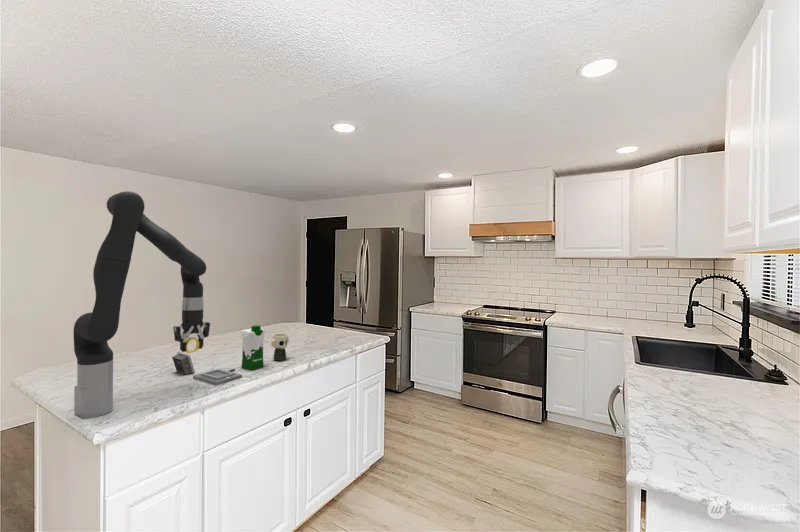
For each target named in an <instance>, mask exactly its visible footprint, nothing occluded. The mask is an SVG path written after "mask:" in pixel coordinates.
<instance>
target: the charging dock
mask: <svg viewBox="0 0 800 532" xmlns="http://www.w3.org/2000/svg"><path fill="white" fill-rule="evenodd" d="M235 370H236V368H232V369H229V370H226V369H222V368H216V369H212V370H209V371H208V370H207V371H205V372H201V373H198V374H194V375H192V378H193V379H194V380H196V381H200V382H203V383H207V384H210V385H214V386H219V385H222V384H223V385H224V384H225V383H229V382H233V381H235V380H238V379H242V378H243V374H241V373H237V372H235Z"/></svg>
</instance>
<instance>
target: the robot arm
mask: <svg viewBox="0 0 800 532" xmlns="http://www.w3.org/2000/svg"><path fill="white" fill-rule="evenodd" d="M106 208H107V211H108V213H109V214H111V215H112V219H111V224H110V228H109V231H108V233H107V234H106V236H105V238H104V240H103V241H102V243H101V246H100V247H99V249H98V252H97V255H96V258H95V263H94V266H93V272H92V276H93V283H94V284H93V285H94V289H95V290H94V291H95V301H94V306H93V309H92V312H87V313H83V314H81V315H80V316H79V317H78V318H77V319H76V321H75V323H74V325H73V352H74V355H75V357H76V361H77V362H76V363H77V367H76V369H77V370H76V371H77V372H76V378H77V380H76V381H77V383H76V385H75V386H73V387H74V388H73V389H74V390H73V391H74V394H73V395H74V399H73V400H74V401H73V404H74V411H73V412H74V414H73V415H74V416H76V417H77V418H79V419H81V420H85V419H89V418H97V417H100V416H104V415H107V414H108V413H110V412H112V411H113V409H114V352H113V350H112V349H111V347H110V346H109V343H108V341H110V340H111V339H112V338H113V337H114V336H115V335H116V333H117V332H118V328H119V324H120V316H121V315H120V314H121V306H122V305H121V303H122V299H123V294H124V290H125V286H126V281H127V277H128V273H129V269H130V265H131V262H132V255H133V250H134V246H135V240H136V235H137V233H138V234H140V235H141V236H142V237H144V238H145V239H146V240H147V241H149V242H150V243H151V244H152V246H155V247H156V248H157V249H158V250H159V251H160V252H161V253H162V254H163V255H165V256H166V257H167V258H168V259H169V260H171V261H172V262H175V263H177V264H178V265H179V266H180V275H181V282H182V285H183V288H182V302H181V325H177V326H176V325H174V326H173V328H172V329H173V336H174V337H173V338H174V341H175V342H179V350H180V352H183V353H187V352H186V341H187V340H188V338H189V337H190V336H191V335H193V334H195V335H196V338H197V339H198V341H199V348H198V350H199V349H203V347H204V339H205V338H208V337H209V335H210V327H211V322H208V321H205V322H204V320H203V319H204V285H203V283H202V282H201V281H200V280H201V279H200V276H203V275H204V274H205V273H206V271H207V265H206V263H205V261H204V260H203V259H202V257H200V256H198V255H197V254H195V253H194V252H192V251H191V250H189V249H188V248H187V247H186V246H185V245H184V244H183V243H182V242H181V241H180V240H178V239H177V238H176V236H174V235H172V233H170V232H169V231H167V230H166V229H164V228H163V227H160V226H159V225H158V224H156V223H155V222H154V221H152V219H150V218H148V216H147V215H145V213H144V212H145V201H144V199H143V197H142V196H141V195H140V194H138V193H136V192H134V191H121V192H118V193H116V194H115V193H114V194H113V195H111V196H110V197H109V198H108V199H107V202H106ZM202 327H203V328H202ZM181 332H182V333H181Z"/></svg>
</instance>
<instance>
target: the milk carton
mask: <svg viewBox="0 0 800 532" xmlns="http://www.w3.org/2000/svg"><path fill="white" fill-rule="evenodd" d="M265 331H266V330H265V329H262V328H261V325H258V324H257V325H252V326H251V328H247V329H242V330H240V332H241V338H242V352H241V353H242V354H241V356H242V359H241V367H240V368H241V369H244V370H248V371H254V370H255V371H256V370H257V369H260V368H264V338H265Z"/></svg>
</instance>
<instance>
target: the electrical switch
mask: <svg viewBox="0 0 800 532" xmlns="http://www.w3.org/2000/svg"><path fill="white" fill-rule="evenodd" d="M171 358H172V361H173V362H172V363H173V365H174V367H175V370H176V372H177V373H179V374H180V375H183V376H188V375H190V374H195V372H196V371H195V368H194V364H193V361H192V359H191V355H190V353H187V352H182V351H177V352H176V355H173V356H172V357H171Z"/></svg>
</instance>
